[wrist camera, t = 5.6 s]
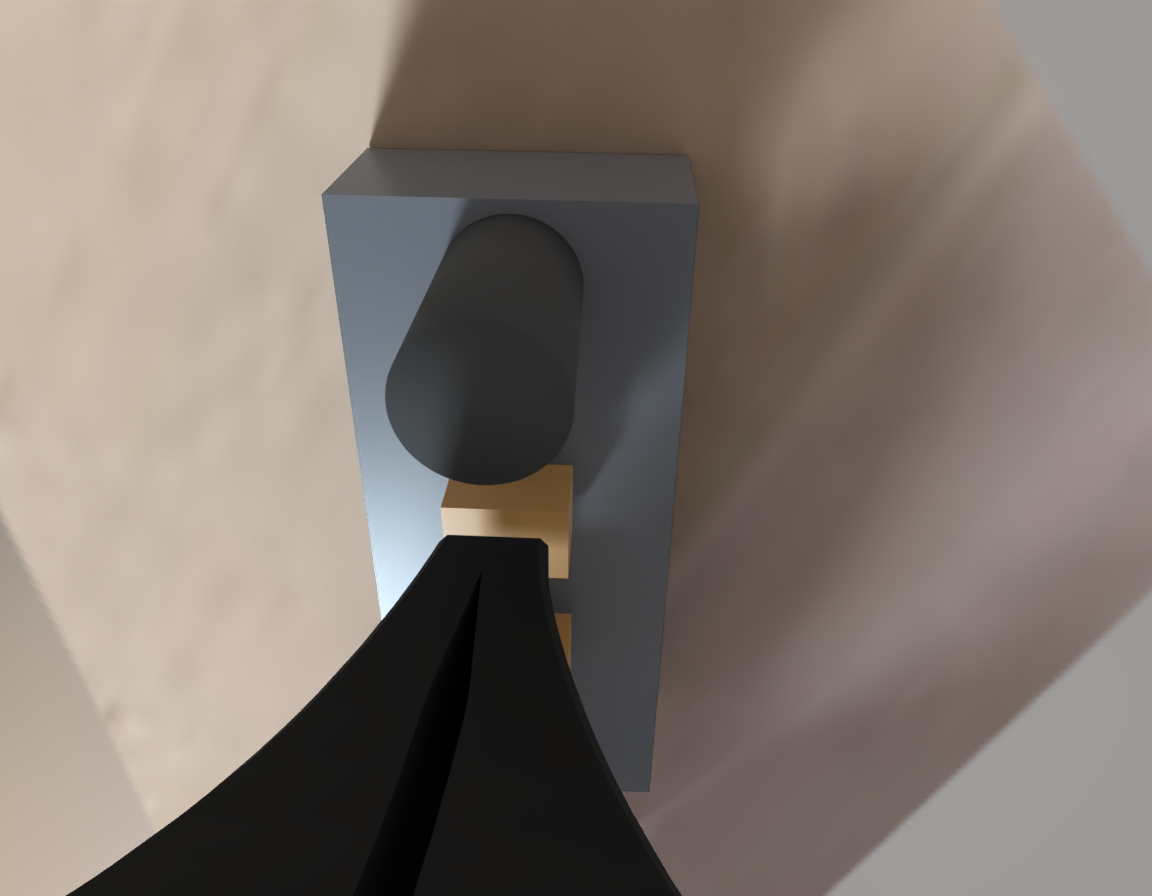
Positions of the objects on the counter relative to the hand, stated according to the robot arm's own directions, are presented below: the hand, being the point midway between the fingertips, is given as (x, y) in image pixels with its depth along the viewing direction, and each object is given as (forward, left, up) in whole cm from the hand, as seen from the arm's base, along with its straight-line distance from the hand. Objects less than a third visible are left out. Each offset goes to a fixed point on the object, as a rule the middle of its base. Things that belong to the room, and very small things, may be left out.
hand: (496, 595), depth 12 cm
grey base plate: (-1, -1, -5) cm, 5 cm away
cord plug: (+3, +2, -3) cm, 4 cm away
